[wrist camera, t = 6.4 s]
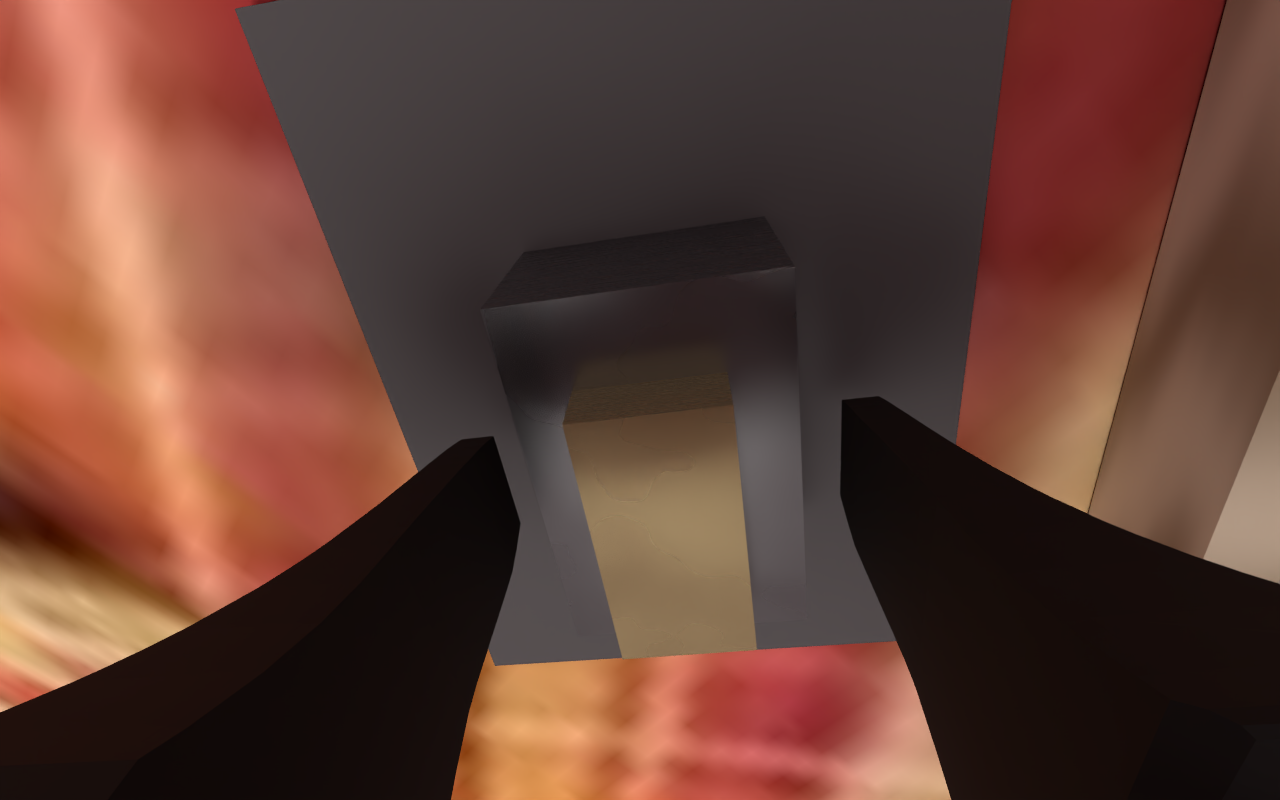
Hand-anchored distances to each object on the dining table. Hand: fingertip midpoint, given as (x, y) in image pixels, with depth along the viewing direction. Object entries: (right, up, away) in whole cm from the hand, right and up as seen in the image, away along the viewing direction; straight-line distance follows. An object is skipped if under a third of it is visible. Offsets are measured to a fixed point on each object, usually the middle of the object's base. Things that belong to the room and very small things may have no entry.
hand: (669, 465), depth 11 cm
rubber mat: (0, +1, +2) cm, 3 cm away
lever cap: (0, +1, +2) cm, 2 cm away
